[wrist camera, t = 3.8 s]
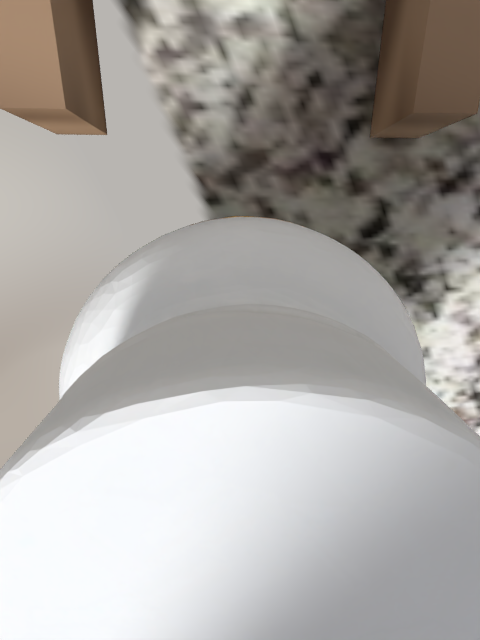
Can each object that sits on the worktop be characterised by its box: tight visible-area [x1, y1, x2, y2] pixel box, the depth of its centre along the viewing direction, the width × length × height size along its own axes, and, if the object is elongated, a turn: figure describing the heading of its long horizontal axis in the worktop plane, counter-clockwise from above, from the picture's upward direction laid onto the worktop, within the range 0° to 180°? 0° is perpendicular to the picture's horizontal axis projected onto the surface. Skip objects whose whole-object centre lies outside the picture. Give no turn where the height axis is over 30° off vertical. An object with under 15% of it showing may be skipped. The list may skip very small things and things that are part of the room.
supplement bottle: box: [0, 216, 480, 640], centre depth 7 cm, size 5×5×10 cm
